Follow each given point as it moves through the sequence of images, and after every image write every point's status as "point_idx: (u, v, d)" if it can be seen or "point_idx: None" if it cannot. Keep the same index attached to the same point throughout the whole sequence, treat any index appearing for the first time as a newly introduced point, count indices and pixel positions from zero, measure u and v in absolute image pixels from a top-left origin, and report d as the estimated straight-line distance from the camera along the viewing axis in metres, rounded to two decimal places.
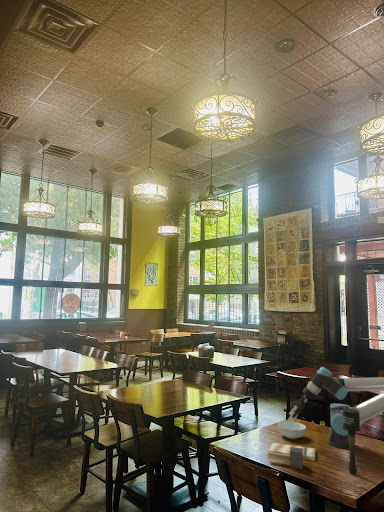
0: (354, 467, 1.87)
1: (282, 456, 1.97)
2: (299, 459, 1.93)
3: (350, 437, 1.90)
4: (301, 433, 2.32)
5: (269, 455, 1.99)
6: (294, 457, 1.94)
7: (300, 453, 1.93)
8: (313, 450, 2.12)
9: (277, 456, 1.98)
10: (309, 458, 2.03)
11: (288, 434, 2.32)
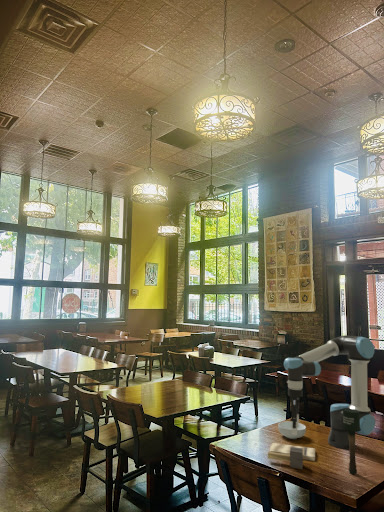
0: (354, 467, 1.87)
1: (282, 456, 1.97)
2: (299, 459, 1.93)
3: (350, 437, 1.90)
4: (301, 433, 2.32)
5: (269, 455, 1.99)
6: (294, 457, 1.94)
7: (300, 453, 1.93)
8: (313, 450, 2.12)
9: (277, 456, 1.98)
10: (309, 458, 2.03)
11: (288, 434, 2.32)
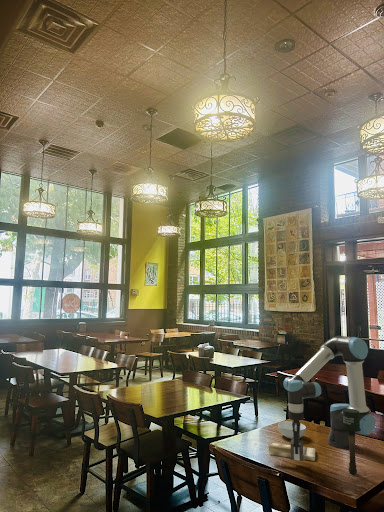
0: (354, 467, 1.87)
1: (283, 449, 1.98)
2: (300, 452, 1.94)
3: (350, 437, 1.90)
4: (301, 433, 2.32)
5: (270, 448, 2.00)
6: None
7: (301, 445, 1.94)
8: (313, 450, 2.12)
9: (278, 449, 1.99)
10: (309, 458, 2.03)
11: (288, 434, 2.32)
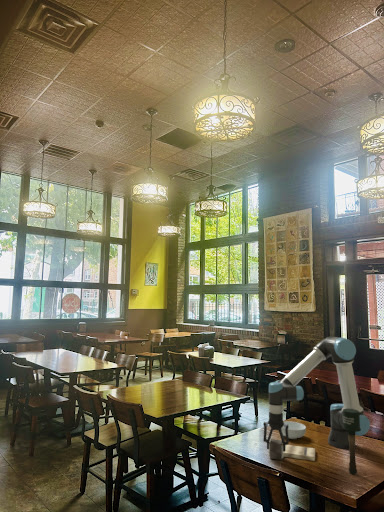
0: (354, 467, 1.87)
1: None
2: (270, 449, 2.05)
3: (350, 437, 1.90)
4: (301, 433, 2.32)
5: None
6: None
7: (270, 443, 2.05)
8: (313, 450, 2.12)
9: None
10: (309, 458, 2.03)
11: (288, 434, 2.32)
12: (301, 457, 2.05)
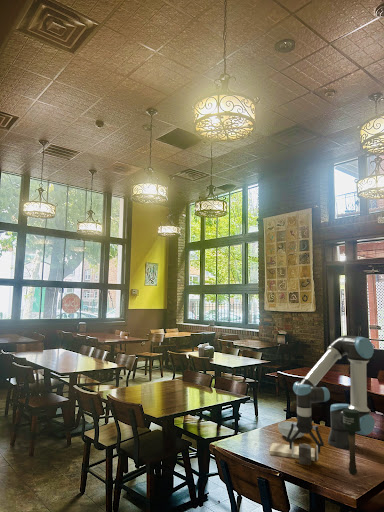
0: (354, 467, 1.87)
1: None
2: None
3: (350, 437, 1.90)
4: (301, 433, 2.32)
5: None
6: None
7: None
8: (313, 450, 2.12)
9: None
10: None
11: None
12: None
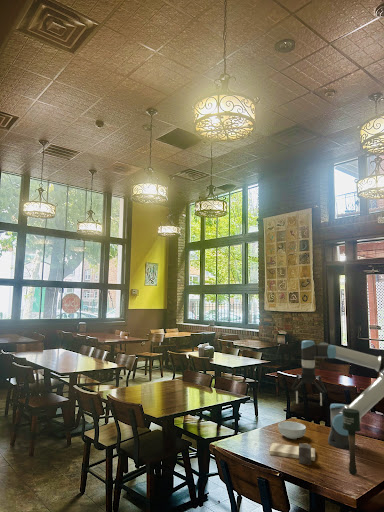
0: (354, 467, 1.87)
1: None
2: (299, 453, 2.01)
3: (350, 437, 1.90)
4: (301, 433, 2.32)
5: None
6: None
7: None
8: (313, 450, 2.12)
9: None
10: None
11: (288, 434, 2.32)
12: None
